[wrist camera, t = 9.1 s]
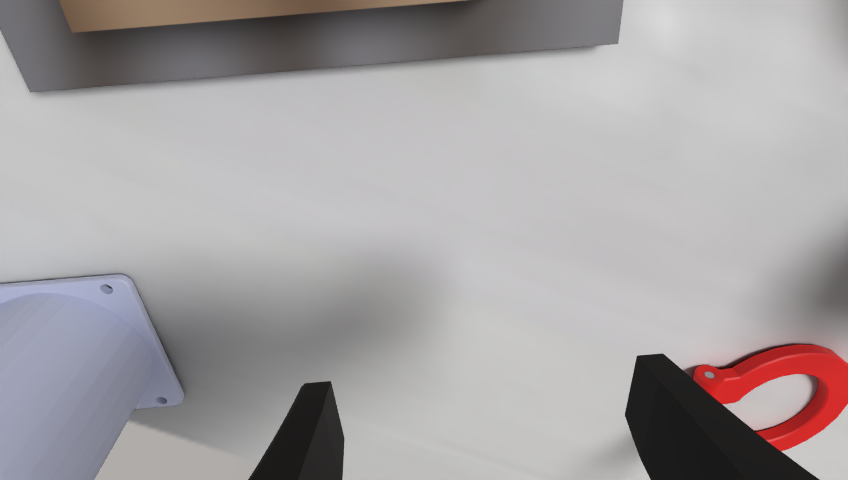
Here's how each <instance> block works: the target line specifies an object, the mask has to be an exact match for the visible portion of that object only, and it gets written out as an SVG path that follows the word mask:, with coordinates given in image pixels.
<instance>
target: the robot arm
mask: <svg viewBox="0 0 848 480" xmlns="http://www.w3.org/2000/svg"><path fill="white" fill-rule="evenodd" d="M105 284H106V285H109V286H111V287H112V288H113V289H111V288H108V287H107V286H106V285H105ZM163 397H164V398H163ZM183 398H184V392H183V390H182V388H181V386H180V384H179V382H178V379H177V377H176V375H175V373H174V371H173V368H172V366H171V364H170V362H169V360H168V357H167V355H166V353H165V351H164V349H163V347H162V344H161V342H160V340H159V338H158V336H157V333H156V331H155V329H154V327H153V325H152V322H151V320H150V318H149V316H148V314H147V312H146V309H145V307H144V305H143V303H142V301H141V298H140V296H139V294H138V292H137V290H136V288H135V285H134V283H133V282H132V280H131V279H130V278H128V277H127V276H124V275H120V274H116V275H104V276H92V277H79V278H67V279H55V280H43V281H31V282H19V283H7V284H0V480H94V479H95V477H96V475H97V474H98V472H99V470H100V468H101V467H102V465H103V463H104V461H105V459H106V458H107V456H108V454H109V453H110V451H111V449H112V447H113V445H114V444H115V442H116V440H117V438H118V437H119V435H120V433H121V431H122V429H123V428H124V426H125V424H126V423H127V421H128V419H129V417H130V416H131V414H132V412H133V410H134V409H143V408H155V407H167V406H176V405H179V404H181V403H182V400H183ZM625 417H626V419H627V422H628V425H629V428H630V431H631V434H632V437H633V440H634V442H635V445H636V448H637V451H638V453H639V456H640V458H641V461H642V463H643V465H644V467H645V469H646V471H647V473H648V475H649V477H650V479H651V480H819V479H818V478H816V477H815V476H814V475H812V474H811V473H809V472H808V471H807V470H805V469H804V468H802V467H801V466H800V465H798V464H797V463H796V462H794V461H793V460H792V459H790V458H789V457H788V456H786V455H785V454H784V453H782V452H781V451H780V450H778V449H777V448H776V447H774V446H773V445H772V444H770V443H769V442H768V441H766V440H765V439H764V438H763V437H761V436H760V435H759V434H758V433H756V432H755V431H754V430H753V429H751V428H750V427H749V426H748V425H746V424H745V423H744V422H743V421H741V420H740V419H739V418H738V417H737V416H735V415H734V414H733V413H732V412H730V411H729V410H728V409H727V408H726V407H724V406H723V405H722V404H721V403H720V402H719V401H717V400H716V399H715V398H714V397H713V396H712V395H710V394H709V393H708V392H707V391H706V390H705V389H703V388H702V387H701V386H700V385H699V384H698V383H696V382H695V381H694V380H693V379H692V378H691V377H690V376H688V375H687V374H686V373H685V372H684V371H683V370H682V369H680V368H679V367H678V366H677V365H676V364H675V363H673V362H672V361H671V360H670V359H669V358H668V357H666V356H665V355H664V354H652V355H640V356H637V359H636V363H635V368H634V373H633V378H632V383H631V388H630V393H629V398H628V402H627V407H626V412H625ZM343 456H344V435H343V431H342V427H341V422H340V418H339V414H338V409H337V405H336V401H335V397H334V392H333V388H332V384H331V381H328V382H316V383H305V384H304V385H303V386H302V387H301V389H300V391H299V393H298V395H297V397H296V399H295V401H294V403H293V404H292V406H291V408H290V410H289V412H288V414H287V416H286V418H285V419H284V421H283V423H282V425H281V427H280V428H279V430H278V432H277V434H276V435H275V437H274V439H273V441H272V442H271V444H270V446H269V447H268V449H267V450H266V452H265V454H264V455H263V457H262V459H261V460H260V462H259V464H258V465H257V467H256V469H255V470H254V472H253V473H252V475H251V476H250V478H249V479H248V480H342V474H343Z"/></svg>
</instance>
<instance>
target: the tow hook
mask: <svg viewBox="0 0 848 480" xmlns="http://www.w3.org/2000/svg"><path fill="white" fill-rule="evenodd" d="M792 374H808V375H812V376H815V377H817V379H818V389H817V391H816V394H815V396H814V398H813V399H812V400H811V402H810V403H809V405H808V406H807V407H805V408H804V409H803V410H802V411H801V412H800V413H799V414H797V415H796V416H794V417H793V418H791V419H790V420H788V421H786V422H784V423H782V424H780V425H778V426H776V427H773V428H770V429H767V430H764V431H758V432H756V433H758V434H759V435H760V436H761V437H763V438H764V439H765V440H766V441H768V442H769V443H770V444H772V445H773V446H774V447H776V448H777V449H778V450H780V451H783V450H787V449H789V448H792V447H794V446H796V445H798V444H800V443H802V442H804V441H806V440H808V439H809V438H811V437H813V436H814V435H816V434H817V433H819V432H820V431H822V430H823V429H824V428H826V427H827V426H828V425H829V424H830V423H831V422H832V421H834V420H835V419H836V418H837V417H838V416H839V414H840V413H841V412H842V410H843V409H844V408H845V407H846V405H847V404H848V364H847V363H846V362H845V361H844V360H843V359H842V358H841V357H839V356H838V355H837V354H836V353H834V352H833V351H832V350H830V349H827V348H824V347H821V346H817V345H791V346H785V347H780V348H774V349H772V350H769V351H766V352H763V353H760V354H757V355H754V356H752V357H751V358H749V359H747V360H745V361H743V362H741V363H739V364H737V365H736V366H734V367H733V368H729V369H722V370H719V369H717V368H715V367H713V366H710V365H700V366H698V367H696V369H695V371H694V375H693V380H694V381H695V382H696V383H698V384H699V385H700V386H701V387H702V388H703V389H705V390H706V391H707V392H708V393H709V394H710V395H712V396H713V397H714V398H715V399H716V400H717V401H719V402H720V403H721V404H728V403H735V402H737V401H739V400H740V399H741V398H742V397H743V396H744V395H746V394H747V393H749V392H750V391H751V390H753V389H754V388H756V387H758V386H760V385H761V384H763V383H765V382H767V381H770V380H773V379H775V378H778V377H781V376H786V375H792Z"/></svg>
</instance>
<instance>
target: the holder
mask: <svg viewBox="0 0 848 480" xmlns="http://www.w3.org/2000/svg"><path fill="white" fill-rule="evenodd" d="M622 7H623V0H0V30H1V32H2V34H3V36H4V38H5V40H6V42H7V45H8V47H9V49H10V51H11V53H12V55H13V57H14V59H15V61H16V64H17V66H18V68H19V70H20V72H21V74H22V76H23V78H24V80H25V83H26V85H27V87H28V89H29V91H30V92H38V91H50V90H62V89H74V88H86V87H99V86H111V85H123V84H135V83H147V82H159V81H171V80H184V79H196V78H208V77H220V76H232V75H244V74H257V73H269V72H281V71H293V70H305V69H317V68H330V67H342V66H354V65H366V64H378V63H390V62H402V61H415V60H427V59H439V58H451V57H463V56H475V55H488V54H500V53H512V52H524V51H536V50H548V49H561V48H573V47H585V46H597V45H609V44H618V40H619V32H620V24H621V15H622Z"/></svg>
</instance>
